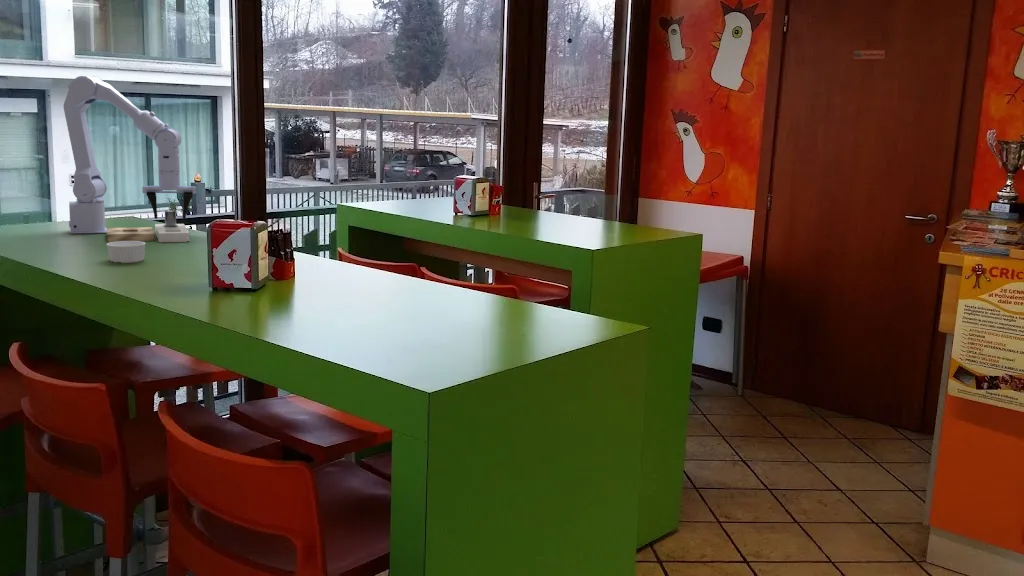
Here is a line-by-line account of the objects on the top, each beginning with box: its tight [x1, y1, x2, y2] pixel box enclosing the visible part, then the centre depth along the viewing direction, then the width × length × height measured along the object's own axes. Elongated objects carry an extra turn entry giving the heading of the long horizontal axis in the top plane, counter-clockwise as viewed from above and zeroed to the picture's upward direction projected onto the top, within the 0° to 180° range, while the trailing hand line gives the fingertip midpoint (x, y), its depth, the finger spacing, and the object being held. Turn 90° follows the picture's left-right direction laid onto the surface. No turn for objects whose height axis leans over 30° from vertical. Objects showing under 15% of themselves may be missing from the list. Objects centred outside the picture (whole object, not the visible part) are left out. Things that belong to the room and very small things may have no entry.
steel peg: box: [164, 209, 177, 227], centre depth 264 cm, size 3×3×7 cm
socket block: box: [106, 226, 156, 242], centre depth 257 cm, size 12×12×2 cm
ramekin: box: [106, 241, 146, 264], centre depth 224 cm, size 9×9×4 cm
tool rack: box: [154, 223, 190, 243], centre depth 261 cm, size 8×18×2 cm, turn 24°
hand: (170, 218), depth 264 cm, fingers open, 7 cm apart
